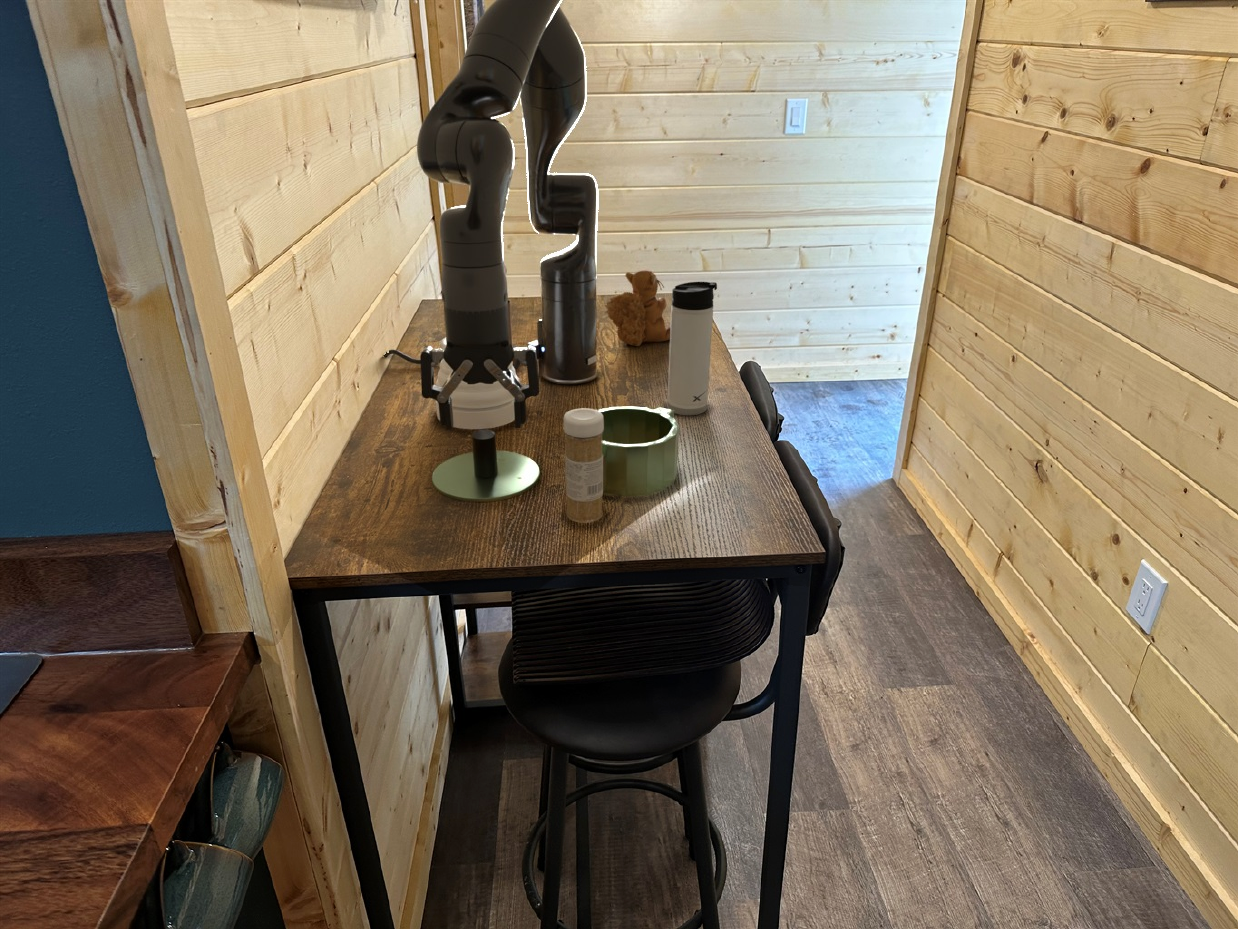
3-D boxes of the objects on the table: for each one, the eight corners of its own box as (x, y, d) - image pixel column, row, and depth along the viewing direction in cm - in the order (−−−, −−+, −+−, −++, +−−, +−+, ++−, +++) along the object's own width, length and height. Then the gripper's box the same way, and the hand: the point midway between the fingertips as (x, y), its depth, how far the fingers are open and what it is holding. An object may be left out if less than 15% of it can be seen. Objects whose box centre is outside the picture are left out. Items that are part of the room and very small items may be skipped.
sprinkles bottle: (593, 505, 102) (593, 404, 96) (609, 522, 99) (610, 418, 93) (559, 512, 100) (557, 410, 94) (574, 530, 97) (572, 425, 91)
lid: (410, 485, 106) (404, 438, 103) (485, 448, 116) (482, 405, 113) (487, 517, 99) (484, 468, 96) (561, 476, 109) (560, 430, 106)
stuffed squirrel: (680, 335, 164) (683, 269, 158) (640, 354, 154) (641, 283, 148) (638, 326, 169) (640, 262, 163) (597, 344, 159) (597, 275, 153)
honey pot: (463, 395, 134) (455, 285, 126) (535, 406, 131) (531, 293, 123) (420, 425, 123) (408, 306, 115) (498, 437, 120) (491, 316, 112)
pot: (545, 488, 106) (543, 436, 103) (627, 441, 119) (628, 393, 116) (626, 519, 99) (627, 463, 96) (704, 465, 112) (707, 415, 109)
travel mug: (707, 417, 127) (715, 289, 118) (664, 414, 128) (669, 286, 119) (711, 402, 133) (719, 278, 124) (670, 399, 134) (675, 276, 125)
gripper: (536, 291, 101) (541, 414, 108) (418, 292, 100) (430, 416, 107) (536, 308, 94) (540, 438, 101) (409, 309, 93) (422, 440, 100)
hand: (484, 427), depth 104 cm, fingers open, 8 cm apart
